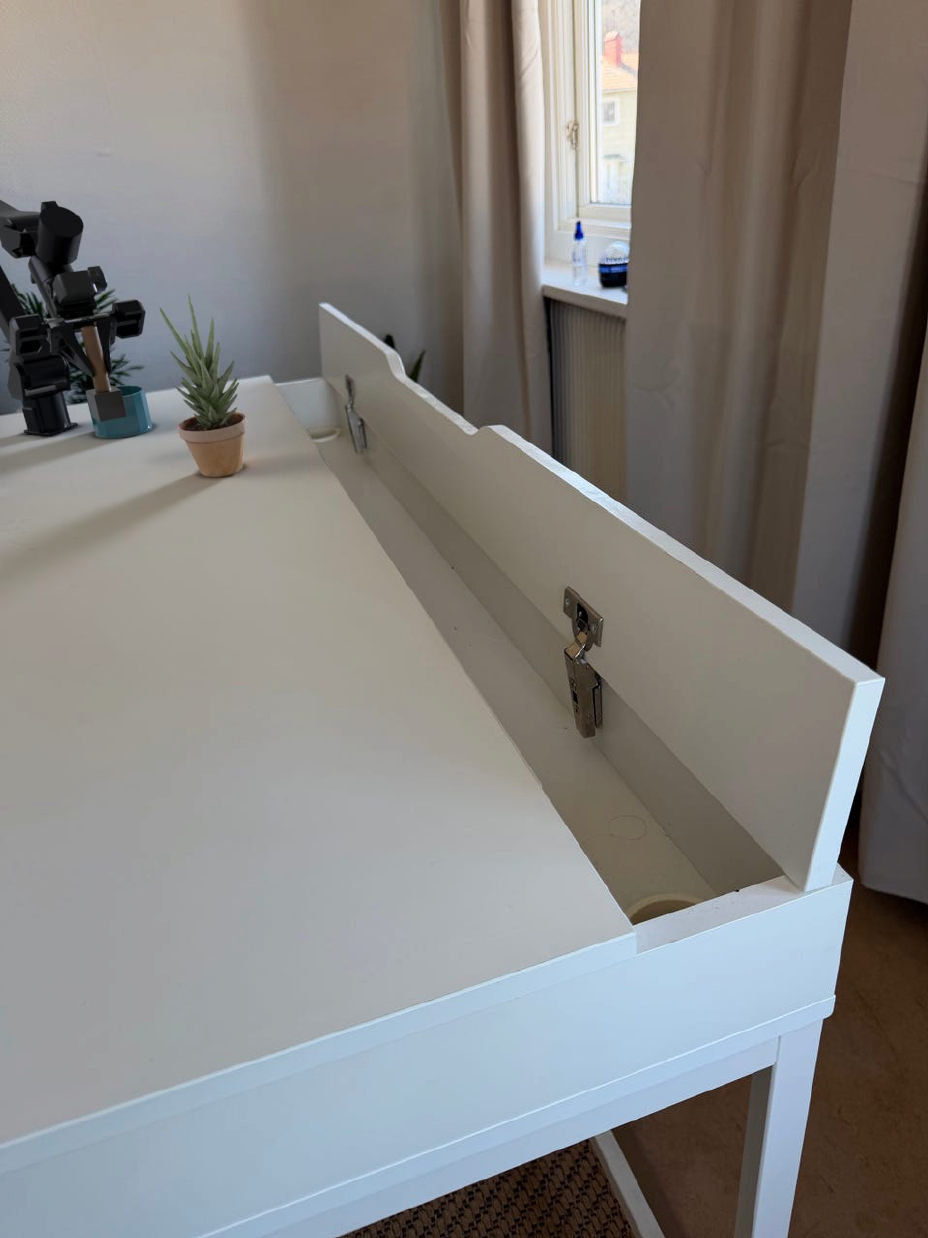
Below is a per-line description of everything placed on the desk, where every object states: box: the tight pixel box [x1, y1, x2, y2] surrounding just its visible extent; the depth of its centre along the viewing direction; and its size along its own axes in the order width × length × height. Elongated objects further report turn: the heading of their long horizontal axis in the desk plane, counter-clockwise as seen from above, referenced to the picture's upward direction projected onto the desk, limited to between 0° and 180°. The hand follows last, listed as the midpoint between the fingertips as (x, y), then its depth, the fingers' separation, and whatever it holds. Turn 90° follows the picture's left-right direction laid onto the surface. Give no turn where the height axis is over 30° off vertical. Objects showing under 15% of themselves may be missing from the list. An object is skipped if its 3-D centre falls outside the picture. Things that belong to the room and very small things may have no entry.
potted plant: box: [158, 292, 249, 478], centre depth 130 cm, size 10×10×25 cm
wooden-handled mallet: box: [81, 326, 127, 422], centre depth 137 cm, size 4×4×13 cm
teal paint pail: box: [85, 384, 153, 439], centre depth 157 cm, size 9×9×6 cm
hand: (102, 374), depth 136 cm, fingers closed on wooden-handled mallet, 2 cm apart
